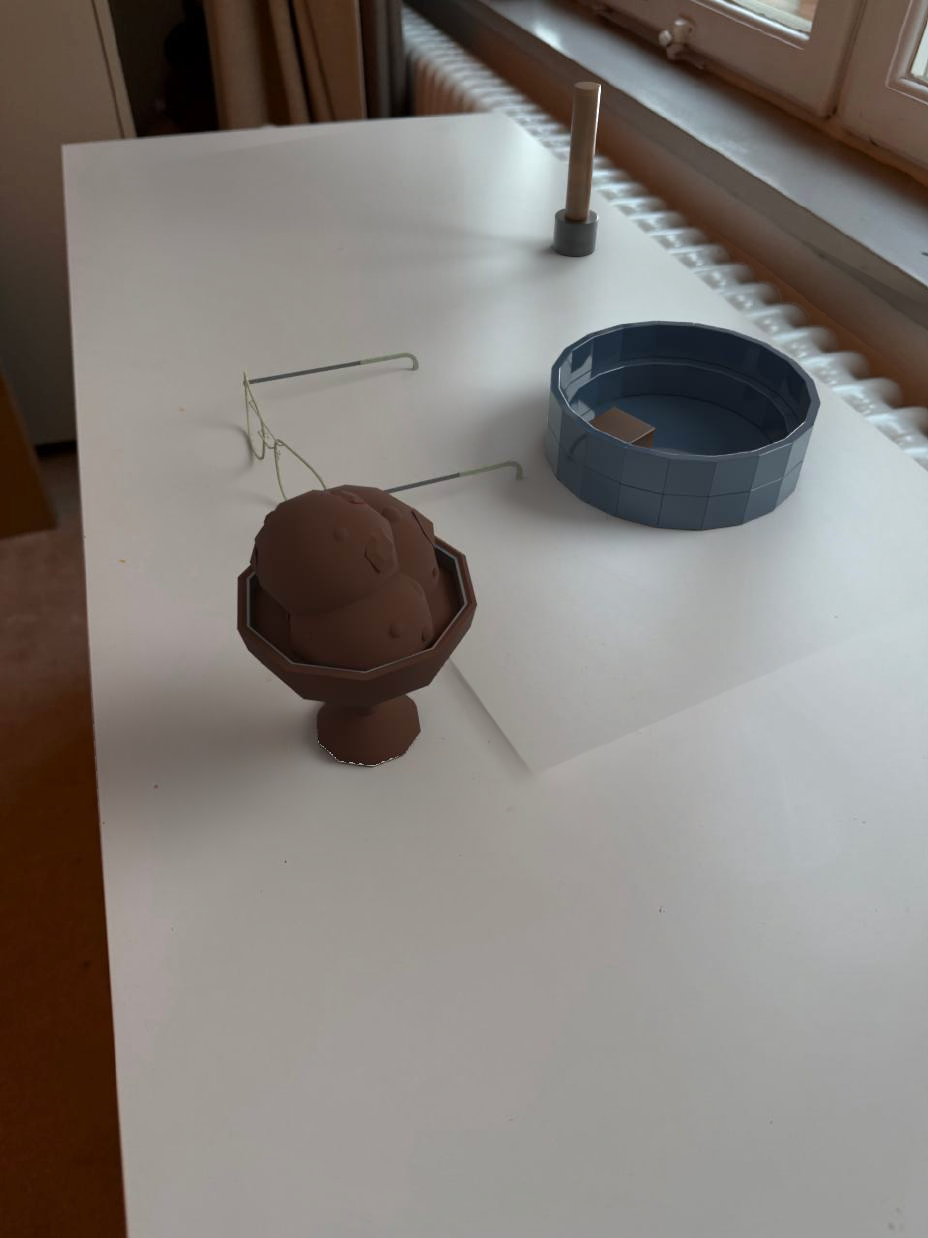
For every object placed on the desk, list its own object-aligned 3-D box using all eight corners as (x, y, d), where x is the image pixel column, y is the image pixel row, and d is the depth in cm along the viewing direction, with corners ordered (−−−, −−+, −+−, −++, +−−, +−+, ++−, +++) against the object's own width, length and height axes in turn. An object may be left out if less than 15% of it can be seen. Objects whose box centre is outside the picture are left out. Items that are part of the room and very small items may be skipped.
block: (608, 450, 68) (614, 406, 66) (648, 472, 67) (655, 427, 64) (574, 470, 67) (579, 426, 64) (614, 494, 65) (620, 449, 62)
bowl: (733, 382, 76) (749, 309, 72) (843, 519, 64) (869, 441, 60) (517, 408, 74) (520, 334, 69) (589, 556, 62) (598, 477, 57)
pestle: (593, 238, 95) (609, 78, 85) (596, 256, 92) (613, 92, 83) (551, 238, 95) (562, 77, 86) (553, 256, 92) (565, 92, 83)
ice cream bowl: (457, 824, 47) (458, 591, 37) (231, 792, 49) (171, 559, 38) (488, 664, 55) (496, 433, 45) (292, 640, 56) (256, 410, 46)
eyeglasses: (231, 425, 72) (220, 363, 68) (418, 376, 77) (416, 315, 73) (315, 553, 62) (306, 487, 58) (523, 486, 67) (526, 422, 63)
